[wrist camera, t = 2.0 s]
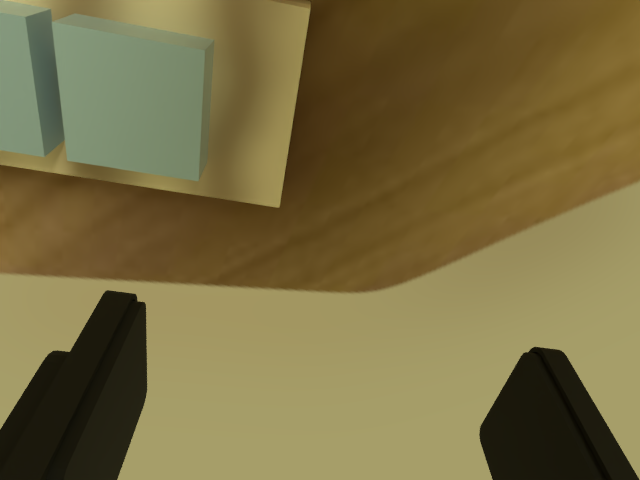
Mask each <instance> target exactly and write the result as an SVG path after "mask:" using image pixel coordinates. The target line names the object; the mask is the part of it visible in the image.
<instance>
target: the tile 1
mask: <svg viewBox="0 0 640 480" xmlns="http://www.w3.org/2000/svg"><path fill="white" fill-rule="evenodd" d="M64 140H65V136H64V127H63V118H62V110H61V101H60V92H59V83H58V74H57V65H56V56H55V47H54V38H53V29H52V14H51V9H49V8H44V7H38V6H33V5H28V4H23V3H17V2H12V1H7V0H0V150H2V151H9V152H15V153H22V154H28V155H34V156H41V157H45V156H47V155H48V154H49V153H50V152H51V151H52V150H54V149H55V148H56V147H57V146H58V145H59V144H61V143H62V142H63V141H64Z"/></svg>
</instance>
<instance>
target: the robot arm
mask: <svg viewBox="0 0 640 480" xmlns="http://www.w3.org/2000/svg"><path fill="white" fill-rule="evenodd" d="M146 393H147V353H146V304H145V303H144V302H137V296H136V294H131V293H124V292H116V291H106V292H105V293H104V294H103V296H102V297H101V299H100V301H99V303H98V304H97V306H96V308H95V309H94V311H93V313H92V315H91V316H90V318H89V320H88V322H87V323H86V325H85V327H84V328H83V330H82V332H81V334H80V336H79V337H78V339H77V341H76V342H75V344H74V346H73V348H72V349H71V351H70V352H65V351H52V352H51V353H50V354H48V356H47V357H46V358H45V360H44V361H43V362H42V364H41V366H40V367H39V369H38V370H37V372H36V373H35V375H34V377H33V378H32V380H31V382H30V383H29V385H28V387H27V388H26V389H25V391H24V393H23V394H22V396H21V398H20V399H19V401H18V402H17V404H16V405H15V407H14V409H13V410H12V412H11V413H10V415H9V417H8V418H7V420H6V422H5V423H4V425H3V426H2V428H1V429H0V480H117V478H118V475H119V473H120V470H121V467H122V464H123V462H124V459H125V456H126V453H127V450H128V448H129V445H130V442H131V439H132V436H133V433H134V431H135V428H136V425H137V422H138V420H139V417H140V414H141V411H142V409H143V406H144V402H145V398H146ZM480 442H481V445H482V448H483V451H484V454H485V457H486V460H487V463H488V466H489V470H490V472H491V476H492V479H493V480H639V478H638V477H637V475H636V473H635V471H634V470H633V468H632V467H631V465H630V463H629V461H628V460H627V458H626V456H625V455H624V453H623V451H622V449H621V448H620V446H619V445H618V443H617V441H616V439H615V438H614V436H613V434H612V433H611V431H610V429H609V427H608V426H607V424H606V422H605V421H604V419H603V417H602V416H601V414H600V412H599V411H598V409H597V407H596V405H595V404H594V402H593V400H592V399H591V397H590V395H589V394H588V392H587V390H586V388H585V387H584V385H583V384H582V382H581V380H580V378H579V377H578V375H577V373H576V372H575V370H574V368H573V367H572V365H571V363H570V361H569V360H568V358H567V356H566V355H565V354H564V353H563V352H562V351H560V350H555V349H548V348H540V347H534V348H532V349H531V350H530V351H529V352H528V353H527V352H526V353H524V354H523V355H522V356H521V358H520V359H519V361H518V363H517V364H516V366H515V368H514V370H513V371H512V373H511V375H510V376H509V378H508V380H507V382H506V384H505V385H504V387H503V388H502V390H501V392H500V394H499V396H498V397H497V399H496V401H495V402H494V404H493V406H492V408H491V409H490V411H489V413H488V414H487V416H486V418H485V420H484V421H483V423H482V425H481V428H480Z"/></svg>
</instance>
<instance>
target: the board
mask: <svg viewBox="0 0 640 480" xmlns="http://www.w3.org/2000/svg"><path fill="white" fill-rule="evenodd" d="M7 1H12V2H17V3H23V4H28V5H33V6H38V7H44V8H49V9H51V14H52V22H53V21H55V20H58V19H61V18H64V17H66V16H69V15H72V14H75V13H76V14H81V15H86V16H91V17H97V18H102V19H107V20H113V21H118V22H123V23H128V24H134V25H139V26H144V27H150V28H155V29H160V30H166V31H171V32H176V33H181V34H187V35H192V36H197V37H203V38H208V39H213V40H214V57H213V74H212V91H211V108H210V125H209V142H208V158H207V164H206V166H205V168H204V171H203V173H202V175H201V177H200V179H199V181H193V180H187V179H180V178H174V177H168V176H161V175H155V174H149V173H142V172H136V171H129V170H123V169H117V168H110V167H104V166H98V165H91V164H85V163H79V162H72V161H67V154H66V145H65V140H64V141H63V142H62V143H61V144H59V145H58V146H57V147H56V148H55V149H54V150H52V151H51V152H50V153H49V154H48V155H47V156H45V157H41V156H34V155H28V154H22V153H15V152H9V151H2V150H0V165H5V166H12V167H18V168H25V169H31V170H38V171H44V172H51V173H57V174H64V175H70V176H77V177H83V178H90V179H96V180H103V181H109V182H115V183H122V184H128V185H135V186H141V187H148V188H154V189H161V190H167V191H174V192H180V193H187V194H193V195H200V196H206V197H213V198H219V199H226V200H232V201H238V202H245V203H251V204H258V205H264V206H271V207H277V208H279V207H280V201H281V194H282V188H283V182H284V175H285V169H286V162H287V156H288V150H289V143H290V137H291V130H292V124H293V118H294V111H295V105H296V99H297V92H298V86H299V79H300V73H301V67H302V60H303V54H304V47H305V41H306V35H307V28H308V22H309V15H310V9H311V1H307V0H7Z"/></svg>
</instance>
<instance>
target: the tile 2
mask: <svg viewBox="0 0 640 480" xmlns="http://www.w3.org/2000/svg"><path fill="white" fill-rule="evenodd" d="M52 29H53V38H54V47H55V56H56V65H57V74H58V83H59V92H60V101H61V110H62V118H63V127H64V136H65V145H66V154H67V161H72V162H79V163H85V164H91V165H98V166H104V167H110V168H117V169H123V170H129V171H136V172H142V173H149V174H155V175H161V176H168V177H174V178H180V179H187V180H193V181H199V179H200V177H201V175H202V173H203V171H204V168H205V166H206V164H207V158H208V142H209V125H210V108H211V91H212V74H213V57H214V40H213V39H208V38H203V37H197V36H192V35H187V34H181V33H176V32H171V31H166V30H160V29H155V28H150V27H144V26H139V25H134V24H128V23H123V22H118V21H113V20H107V19H102V18H97V17H91V16H86V15H81V14H76V13H75V14H72V15H69V16H66V17H64V18H61V19H58V20H55V21H53V22H52Z"/></svg>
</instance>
